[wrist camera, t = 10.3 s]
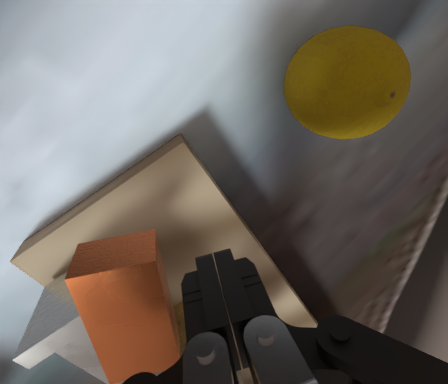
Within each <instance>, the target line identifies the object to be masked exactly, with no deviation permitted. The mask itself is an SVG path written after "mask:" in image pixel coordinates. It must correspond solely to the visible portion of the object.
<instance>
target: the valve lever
mask: <svg viewBox="0 0 448 384" xmlns="http://www.w3.org/2000/svg"><path fill="white" fill-rule="evenodd" d="M65 282H66V284H67V287H68V289H69V291H70V294H71V296H72V298H73V301H74V303H75V305H76V308H77V310H78V312H79V315H80V317H81V319H82V322H83V324H84V326H85V328H86V331H87V333H88V335H89V338H90V340H91V342H92V345H93V347H94V349H95V352H96V354H97V356H98V359H99V361H100V363H101V366H102V368H103V370H104V372H105V375H106V377H107V379H108V382H109V384H116V383H120V382H124V381H125V380H127V379H128V378H129V377H131V376H132V375H134V374H137V373H140V372H150V373H153V374H154V375H156V376H158V375H159V374H161V373H162V372H164V371H165V370H167V369H168V368H170V367H171V366H172V365H174V364H175V363H176V362H177V361H178V360H179V358H180V357H181V355H180V344H179V333H178V325H177V321H176V317H175V312H174V308H173V304H172V299H171V295H170V291H169V287H168V282H167V278H166V274H165V269H164V265H163V261H162V257H161V252H160V248H159V244H158V239H157V235H156V231H155V229H152V230H147V231H142V232H137V233H131V234H126V235H121V236H116V237H111V238H106V239H100V240H95V241H90V242H85V243H80V244H78V245H77V248H76V250H75V253H74V256H73V258H72V261H71V264H70V266H69V269H68V272H67V274H66V277H65Z"/></svg>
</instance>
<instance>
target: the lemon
mask: <svg viewBox="0 0 448 384" xmlns="http://www.w3.org/2000/svg"><path fill="white" fill-rule="evenodd" d="M410 80H411V72H410V65H409V62H408V59H407V57H406V55H405V53H404V51H403V49H402V48H401V47H400V46H399V45H398V44H397V43H396V42H395V41H394V40H393V39H392V38H390V37H388V36H386V35H385V34H383V33H381V32H379V31H377V30H374V29H371V28H365V27H359V26H343V27H337V28H331V29H328V30H326V31H324V32H321V33H319V34H317V35H315V36H313V37H312V38H311V39H309V40H308V41H307V42H306V43H304V44H303V45H302V46H301V47H300V48H299V49H298V51H297V52H296V53H295V55H294V56H293V57H292V59H291V61H290V63H289V65H288V68H287V71H286V75H285V79H284V94H285V98H286V103H287V105H288V107H289V109H290V111H291V113H292V115H293V116H294V117H295V118H296V119H297V120H298V121H299V122H300V123H301V124H302V125H303V126H304V127H305V128H307V129H309V130H311V131H313V132H314V133H316V134H319V135H322V136H326V137H331V138H336V139H350V138H359V137H363V136H366V135H369V134H372V133H374V132H376V131H378V130H379V129H381V128H383V127H384V126H386V125H387V124H388V123H389V122H390V121H391V120H392V119H393V118H394V117H395V116H396V115H397V113H398V112H399V111H400V109H401V108H402V106H403V104H404V102H405V100H406V98H407V95H408V92H409V89H410Z"/></svg>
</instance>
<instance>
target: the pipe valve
mask: <svg viewBox="0 0 448 384" xmlns="http://www.w3.org/2000/svg"><path fill="white" fill-rule="evenodd" d="M67 272H68V271H67ZM67 272H65V273H64V274H62V275H61V276H59V277H58V278H56V279H55V280H54V281H52V282H51V283H49V284H48V285H46V286H45V288H44V290H43V292H42V294H41V297H40V299H39V301H38V303H37V306H36V308H35V310H34V312H33V314H32V317H31V319H30V321H29V323H28V326H27V328H26V330H25V332H24V335H23V337H22V339H21V341H20V344H19V346H18V348H17V350H16V353H15V355H14V357H13V359H12V360H13V361H14V362H16V363H18V364H20V365H22V366H24V367H25V368H27V369H30V368H32V367H33V366H35V365H36V364H38V363H39V362H41V361H42V360H44V359H45V358H47V357H48V356H50V355H51V354H53V353H54V352H55V353H57V354H58V355H60V356H62V357H63V358H65V359H67V360H68V361H70V362H72V363H73V364H75V365H77V366H78V367H80V368H81V369H83V370H85V371H86V372H88V373H90V374H91V375H93V376H95V377H96V378H98V379H100V380H101V381H103V382H105V383H106V384H109V382H108V379H107V377H106V375H105V372H104V370H103V368H102V366H101V363H100V361H99V359H98V356H97V354H96V352H95V349H94V347H93V345H92V342H91V340H90V338H89V335H88V333H87V331H86V328H85V326H84V324H83V322H82V319H81V317H80V315H79V312H78V310H77V308H76V305H75V303H74V301H73V298H72V296H71V294H70V291H69V289H68V287H67V284H66V282H65V277H66V274H67ZM173 308H174V312H175V317H176V321H177V325H178V333H179V344H180V355H181V356H182V354H183V352H184V349H185V347H186V331H185V321H184V311H183V301H181V302H180V303H178V304H177V305H175V306H174V307H173ZM236 373H237V377H238V381H239V384H244V383H243V380H242V377H241V373H240V370H239V371H236ZM122 383H123V382H120V383H116V384H122ZM251 384H253V382H252V383H251Z"/></svg>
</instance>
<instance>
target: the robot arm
mask: <svg viewBox="0 0 448 384" xmlns="http://www.w3.org/2000/svg"><path fill="white" fill-rule="evenodd" d="M213 254H214V259H215V262H214V259H213V255H212V253H210V254H206V255H203V256H199V257H195V261H196V267H197V270H196V271H193V272H189V273H185V275H184V278H183V280H182V283H181V291H182V301H183V311H184V321H185V331H186V347H185V349H184V352H183V354H182V356H181V357H180V358H179V360H178V361H177V362H176V363H175V364H174V365H172V366H171V367H170V368H168V369H167V370H165V371H164V372H162V373H161V374H159V375H158V376H156V375H154V374H153V373H150V372H140V373H137V374H134V375H132V376H131V377H129V378H128V379H127V380H125V381H124V382H123V383H122V384H239V381H238V377H237V373H236V371H239V370H242V369H241V365H240V361H239V357H238V352H239V355H240V359H241V363H242V367H243V369H245V368H248V367H249V369H250V373H251V376H252V380H253V384H448V363H447V362H444V361H442V360H440V359H438V358H435V357H433V356H431V355H428V354H426V353H424V352H422V351H419V350H418V349H415V348H413V347H411V346H409V345H407V344H404V343H402V342H400V341H398V340H395V339H393V338H391V337H389V336H386V335H384V334H382V333H380V332H378V331H375V330H373V329H371V328H369V327H367V326H364V325H362V324H360V323H358V322H355V321H353V320H351V319H349V318H346V317H342V316H329V317H326V318H324V319H323V320H321V321H320V322H319V324H318V325H317V327H316V328H314V327H295V326H292V325H289V324H287V323H285V322H284V321H282V320H281V319H280V318H279V317H278V315H277V314H276V312H275V309H274V307H273V305H272V303H271V300H270V298H269V296H268V294H267V291H266V289H265V287H264V285H263V283H262V280H261V278H260V276H259V273H258V271H257V269H256V267H255V264H254V263H253V262H251V261H250V260H249V259H248V258H246V257H244V258H240V259H236V260H234V257H233V255H232V252H231V249H230V248H229V249H225V250H221V251H217V252H214V253H213ZM215 263H216V266H215ZM216 267H217V270H216ZM217 271H218V274H217ZM218 275H219V278H218ZM219 279H220V281H219ZM220 284H221V285H220ZM221 288H222V289H221ZM222 291H223V293H222ZM223 295H224V297H223ZM224 299H225V300H224ZM225 303H226V304H225ZM226 307H227V308H226ZM227 310H228V312H227ZM228 314H229V316H228ZM229 318H230V319H229ZM230 322H231V323H230ZM231 325H232V327H231ZM232 329H233V331H232ZM233 333H234V336H233ZM234 337H235V340H236V344H237V348H238V352H237V348H236V344H235V340H234Z"/></svg>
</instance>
